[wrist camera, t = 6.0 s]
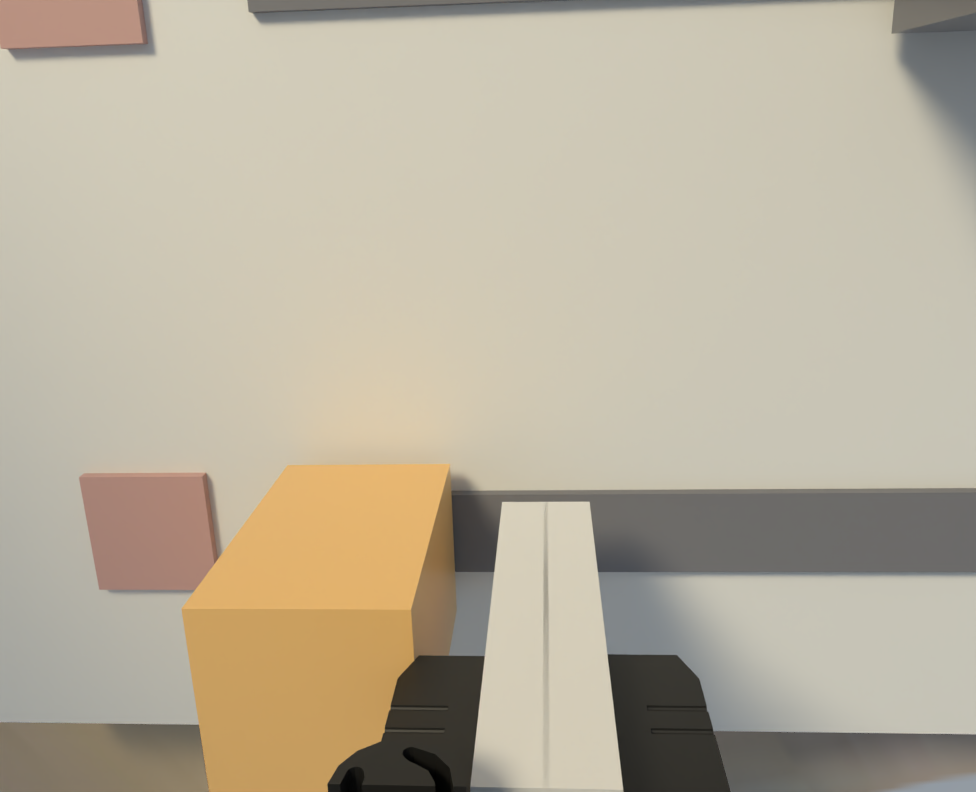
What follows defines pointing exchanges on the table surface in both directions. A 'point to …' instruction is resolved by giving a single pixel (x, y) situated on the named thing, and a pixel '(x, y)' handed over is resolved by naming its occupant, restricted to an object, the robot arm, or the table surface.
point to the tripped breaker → (319, 620)
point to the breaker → (933, 16)
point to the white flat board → (499, 325)
